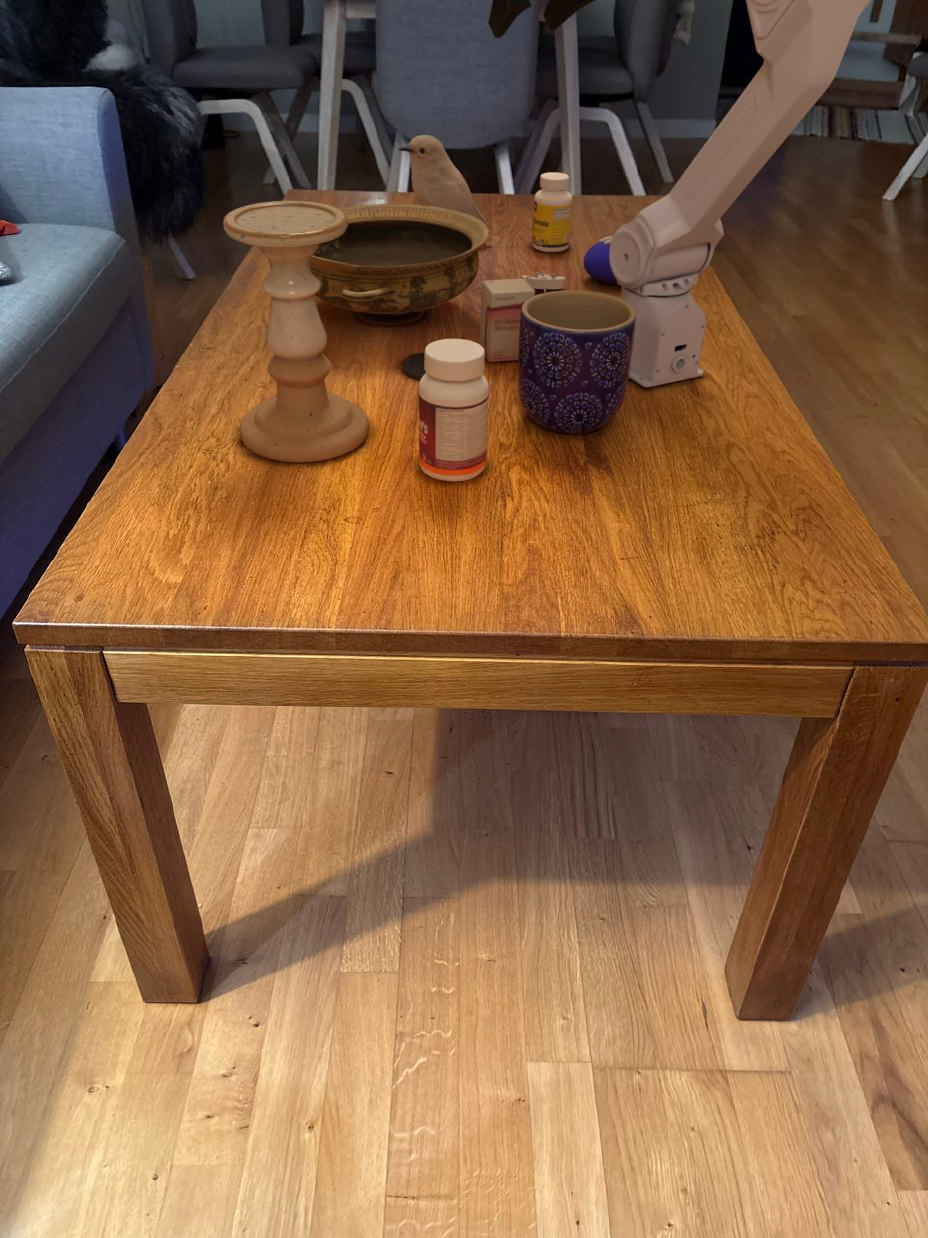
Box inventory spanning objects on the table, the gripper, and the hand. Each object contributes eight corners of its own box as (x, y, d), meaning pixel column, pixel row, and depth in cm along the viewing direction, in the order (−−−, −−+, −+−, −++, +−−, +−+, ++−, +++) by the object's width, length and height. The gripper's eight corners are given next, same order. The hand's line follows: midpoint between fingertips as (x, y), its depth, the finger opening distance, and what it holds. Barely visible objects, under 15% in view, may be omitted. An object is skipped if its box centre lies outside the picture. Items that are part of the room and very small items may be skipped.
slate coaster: (476, 374, 106) (476, 370, 105) (417, 385, 103) (417, 381, 103) (448, 351, 111) (448, 347, 110) (391, 361, 108) (391, 357, 108)
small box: (488, 363, 108) (490, 292, 103) (478, 348, 111) (481, 279, 106) (531, 360, 109) (536, 290, 104) (521, 345, 112) (525, 276, 107)
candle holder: (230, 415, 97) (200, 202, 84) (350, 398, 100) (337, 192, 88) (254, 473, 88) (224, 244, 75) (384, 452, 91) (376, 230, 79)
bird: (397, 245, 141) (394, 132, 132) (485, 239, 144) (489, 128, 135) (404, 255, 137) (401, 139, 128) (495, 249, 140) (499, 135, 131)
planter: (640, 411, 99) (655, 303, 92) (595, 454, 92) (608, 340, 85) (544, 386, 103) (552, 281, 97) (495, 426, 96) (499, 315, 89)
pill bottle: (417, 452, 91) (415, 335, 84) (482, 450, 92) (486, 334, 85) (421, 485, 87) (420, 364, 80) (489, 482, 87) (494, 363, 80)
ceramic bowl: (325, 268, 133) (319, 190, 126) (499, 279, 130) (502, 200, 124) (257, 354, 109) (246, 264, 103) (468, 370, 107) (470, 278, 100)
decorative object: (596, 241, 122) (578, 229, 131) (591, 289, 125) (574, 274, 134) (677, 243, 123) (654, 231, 132) (670, 291, 126) (648, 276, 135)
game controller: (556, 281, 130) (558, 261, 128) (587, 312, 121) (590, 292, 120) (516, 284, 129) (517, 264, 127) (544, 316, 120) (546, 295, 118)
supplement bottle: (525, 243, 143) (528, 172, 137) (557, 239, 145) (562, 169, 139) (542, 254, 139) (547, 181, 133) (575, 250, 141) (581, 178, 135)
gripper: (620, -116, 100) (558, -12, 112) (505, -109, 93) (453, -1, 106) (648, -54, 99) (583, 43, 112) (536, -44, 93) (480, 58, 105)
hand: (521, 26), depth 109 cm, fingers open, 7 cm apart
